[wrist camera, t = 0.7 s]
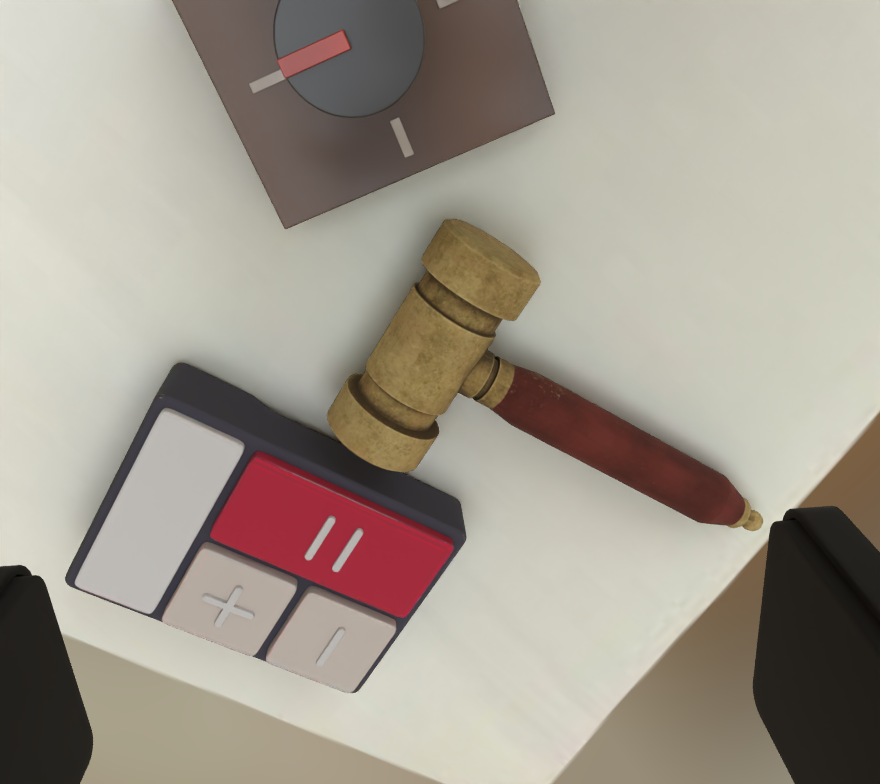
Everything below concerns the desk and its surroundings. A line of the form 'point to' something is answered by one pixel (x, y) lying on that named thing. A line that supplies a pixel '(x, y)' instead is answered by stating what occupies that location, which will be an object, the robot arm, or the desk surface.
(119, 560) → the calculator
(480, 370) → the gavel
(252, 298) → the desk surface
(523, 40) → the panel
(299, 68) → the knob
